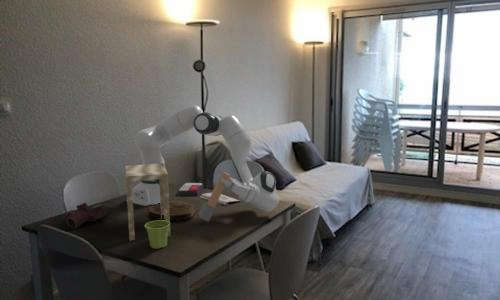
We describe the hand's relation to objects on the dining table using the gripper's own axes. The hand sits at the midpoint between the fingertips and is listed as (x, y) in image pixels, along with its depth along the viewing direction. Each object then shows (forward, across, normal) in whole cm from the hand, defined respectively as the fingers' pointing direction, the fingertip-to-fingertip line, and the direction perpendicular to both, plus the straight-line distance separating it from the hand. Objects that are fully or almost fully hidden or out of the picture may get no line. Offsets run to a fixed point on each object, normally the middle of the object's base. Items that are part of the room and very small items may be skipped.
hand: (220, 178), depth 180 cm
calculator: (-6, -54, +20) cm, 58 cm away
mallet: (-3, 0, +9) cm, 9 cm away
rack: (+17, 0, +33) cm, 37 cm away
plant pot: (+15, +20, +32) cm, 40 cm away
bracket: (+40, -17, +46) cm, 63 cm away
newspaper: (-16, -34, +14) cm, 41 cm away
